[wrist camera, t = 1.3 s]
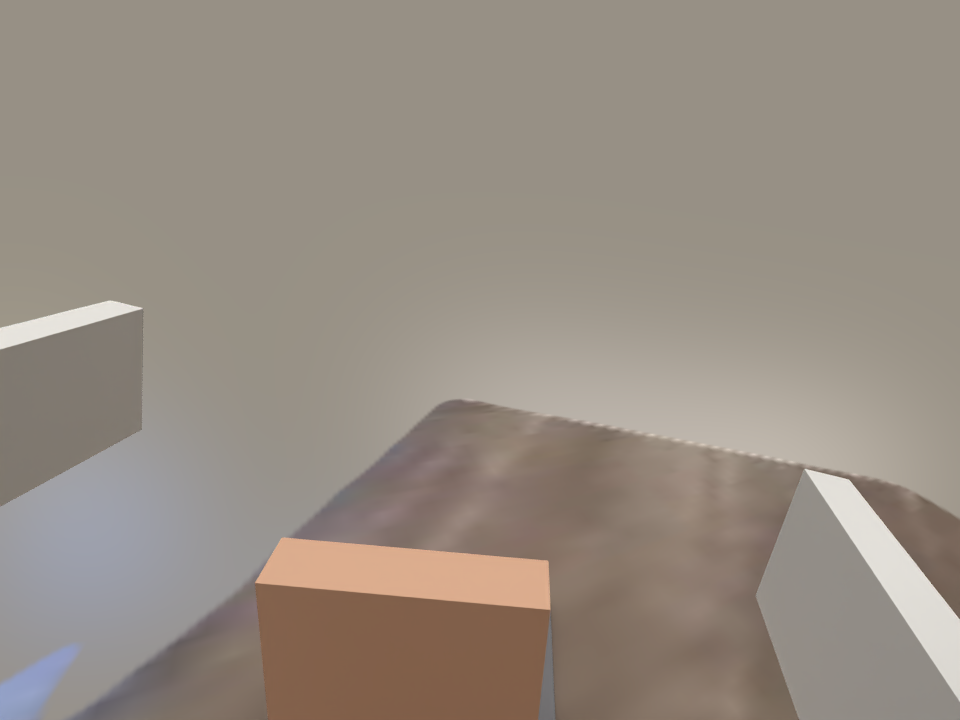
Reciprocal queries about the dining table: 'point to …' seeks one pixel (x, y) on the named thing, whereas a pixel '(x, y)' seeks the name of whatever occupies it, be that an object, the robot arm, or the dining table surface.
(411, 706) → the terracotta tile
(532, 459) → the dining table surface
